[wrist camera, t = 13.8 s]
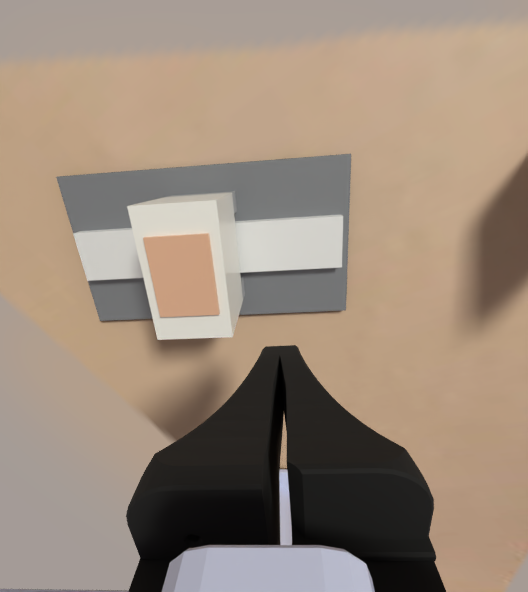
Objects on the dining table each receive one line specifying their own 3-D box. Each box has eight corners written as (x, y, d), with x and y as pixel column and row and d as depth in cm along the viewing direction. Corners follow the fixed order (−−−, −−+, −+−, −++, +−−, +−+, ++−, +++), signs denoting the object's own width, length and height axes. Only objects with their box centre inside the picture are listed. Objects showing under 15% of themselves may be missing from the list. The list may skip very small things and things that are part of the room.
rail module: (244, 293, 21) (232, 339, 16) (188, 296, 22) (156, 341, 16) (234, 191, 19) (215, 200, 13) (171, 195, 19) (124, 206, 13)
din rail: (344, 307, 22) (347, 314, 21) (103, 317, 23) (94, 325, 22) (349, 154, 18) (354, 153, 17) (61, 176, 19) (47, 176, 18)
